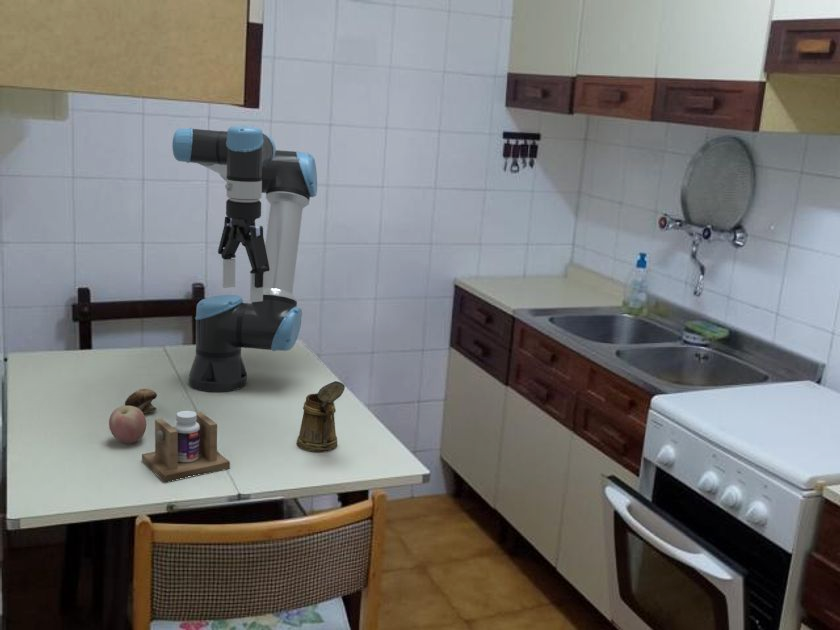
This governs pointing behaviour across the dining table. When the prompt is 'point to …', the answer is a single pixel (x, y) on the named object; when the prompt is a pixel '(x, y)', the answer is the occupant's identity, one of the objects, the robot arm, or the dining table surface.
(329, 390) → the wooden mug
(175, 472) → the holder
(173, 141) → the robot arm
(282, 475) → the dining table surface
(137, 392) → the mushroom
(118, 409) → the apple
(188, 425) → the pill bottle
